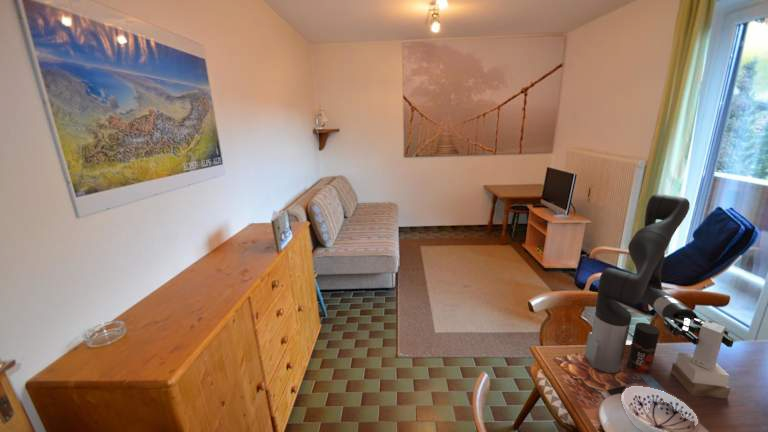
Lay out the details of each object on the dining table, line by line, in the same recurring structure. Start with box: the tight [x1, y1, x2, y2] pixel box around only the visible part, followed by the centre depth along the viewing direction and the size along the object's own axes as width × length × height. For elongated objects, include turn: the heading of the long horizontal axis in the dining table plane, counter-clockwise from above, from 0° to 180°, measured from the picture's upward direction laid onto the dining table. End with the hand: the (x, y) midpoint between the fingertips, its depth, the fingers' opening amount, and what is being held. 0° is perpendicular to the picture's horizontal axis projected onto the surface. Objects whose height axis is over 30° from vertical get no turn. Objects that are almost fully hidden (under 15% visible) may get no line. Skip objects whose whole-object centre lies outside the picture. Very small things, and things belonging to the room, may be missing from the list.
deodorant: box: [626, 322, 661, 376], centre depth 102 cm, size 6×6×15 cm
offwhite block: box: [675, 352, 730, 387], centre depth 96 cm, size 8×8×4 cm
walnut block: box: [670, 362, 732, 399], centre depth 97 cm, size 9×9×4 cm
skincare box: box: [692, 320, 726, 370], centre depth 94 cm, size 6×4×12 cm
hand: (714, 343), depth 92 cm, fingers open, 8 cm apart
